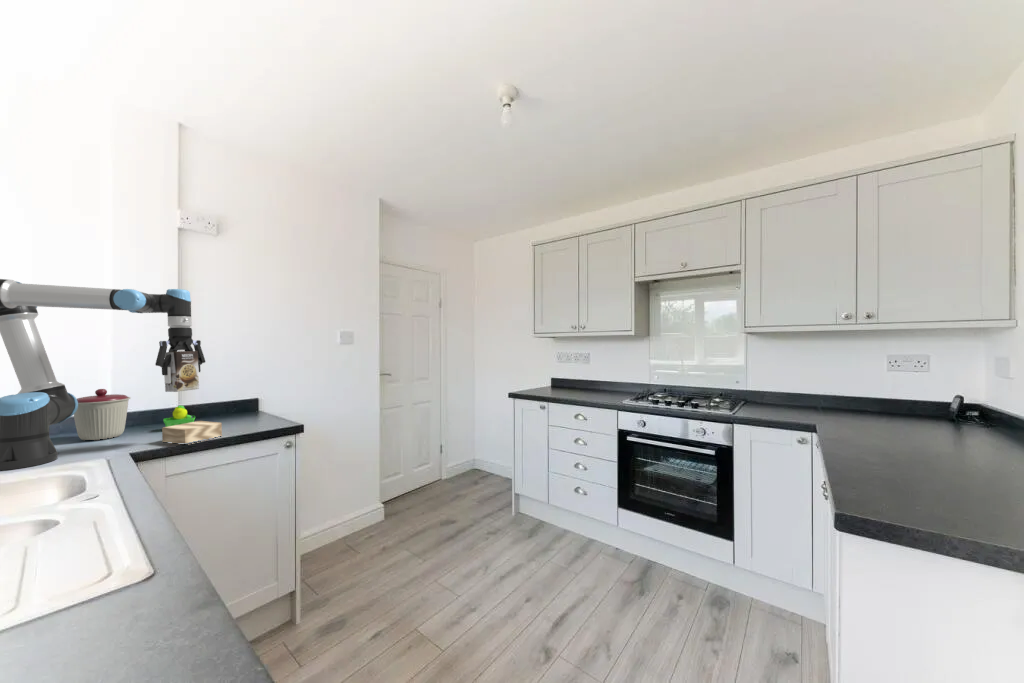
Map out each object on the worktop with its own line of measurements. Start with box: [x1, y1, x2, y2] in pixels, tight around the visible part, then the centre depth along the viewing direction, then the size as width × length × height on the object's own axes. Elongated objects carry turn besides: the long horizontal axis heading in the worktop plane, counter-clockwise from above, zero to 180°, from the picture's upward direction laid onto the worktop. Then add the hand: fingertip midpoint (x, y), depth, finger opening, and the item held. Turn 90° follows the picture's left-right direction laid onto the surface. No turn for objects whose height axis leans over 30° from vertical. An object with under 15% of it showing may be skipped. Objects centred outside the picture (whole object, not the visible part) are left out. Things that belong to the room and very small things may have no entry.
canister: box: [73, 388, 132, 441], centre depth 169 cm, size 18×18×21 cm
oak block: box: [161, 420, 223, 444], centre depth 164 cm, size 14×14×6 cm
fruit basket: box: [163, 405, 196, 427], centre depth 186 cm, size 11×9×11 cm
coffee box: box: [164, 350, 200, 393], centre depth 162 cm, size 9×6×16 cm
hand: (182, 381), depth 162 cm, fingers closed on coffee box, 9 cm apart
